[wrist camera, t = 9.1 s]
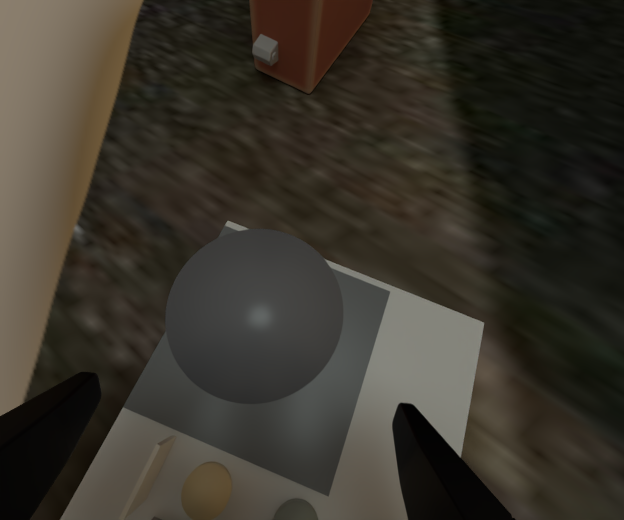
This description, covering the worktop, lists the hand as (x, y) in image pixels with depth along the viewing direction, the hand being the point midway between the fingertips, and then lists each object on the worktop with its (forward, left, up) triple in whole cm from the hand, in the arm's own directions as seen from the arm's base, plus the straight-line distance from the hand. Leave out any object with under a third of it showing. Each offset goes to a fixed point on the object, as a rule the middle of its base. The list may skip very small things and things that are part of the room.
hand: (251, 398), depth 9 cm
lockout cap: (+2, +1, -8) cm, 8 cm away
